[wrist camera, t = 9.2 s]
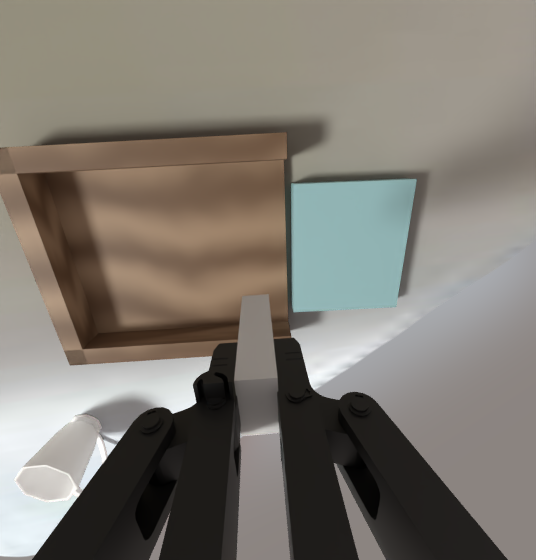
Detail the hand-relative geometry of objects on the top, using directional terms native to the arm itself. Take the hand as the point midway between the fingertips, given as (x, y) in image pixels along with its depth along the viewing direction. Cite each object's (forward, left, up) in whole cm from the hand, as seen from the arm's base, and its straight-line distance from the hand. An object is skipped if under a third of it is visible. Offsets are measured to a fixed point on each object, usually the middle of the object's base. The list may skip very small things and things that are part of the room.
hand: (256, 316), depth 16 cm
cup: (+26, -26, -16) cm, 40 cm away
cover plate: (+1, +10, -16) cm, 19 cm away
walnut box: (0, -9, -16) cm, 18 cm away
